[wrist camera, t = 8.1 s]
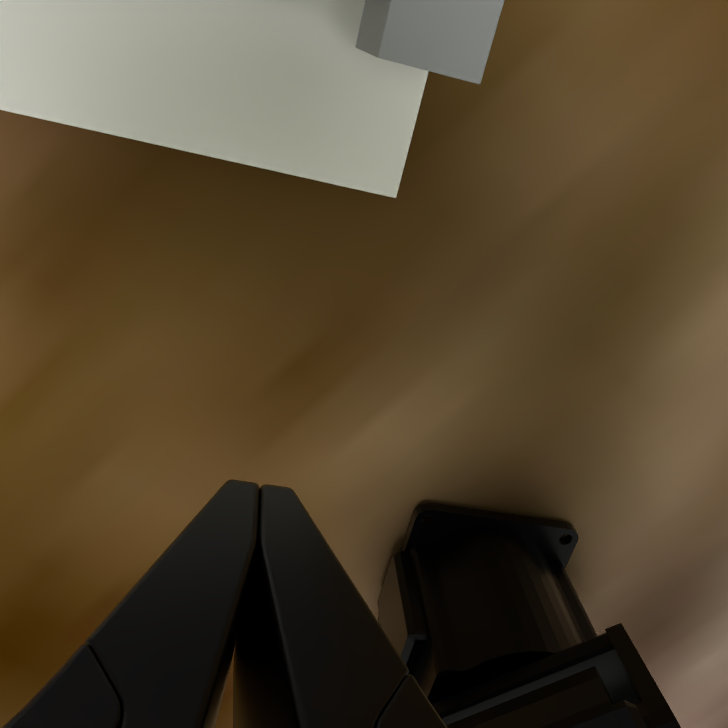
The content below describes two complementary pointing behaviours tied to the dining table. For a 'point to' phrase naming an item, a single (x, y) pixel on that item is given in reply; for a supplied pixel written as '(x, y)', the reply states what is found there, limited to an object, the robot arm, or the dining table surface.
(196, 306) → the dining table surface
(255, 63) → the pipe rig
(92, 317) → the dining table surface
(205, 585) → the robot arm
